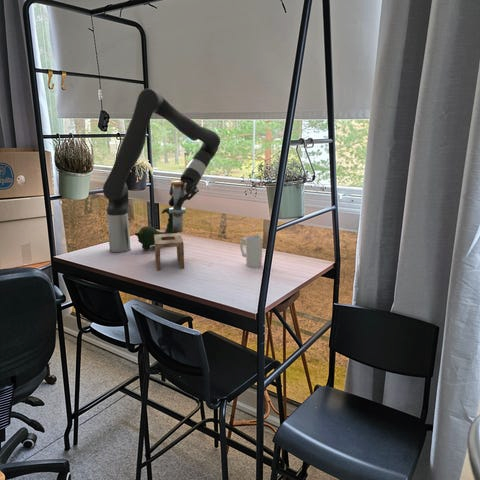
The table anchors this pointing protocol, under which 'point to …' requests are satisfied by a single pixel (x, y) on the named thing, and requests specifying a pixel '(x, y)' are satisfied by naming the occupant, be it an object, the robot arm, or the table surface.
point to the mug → (252, 250)
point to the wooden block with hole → (169, 241)
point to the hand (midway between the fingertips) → (174, 205)
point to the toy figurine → (153, 232)
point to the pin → (175, 210)
